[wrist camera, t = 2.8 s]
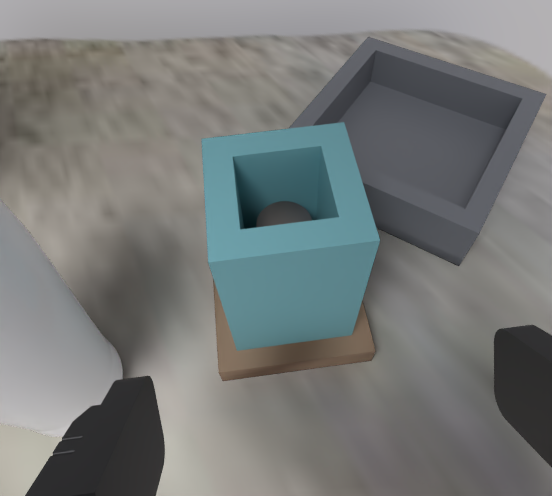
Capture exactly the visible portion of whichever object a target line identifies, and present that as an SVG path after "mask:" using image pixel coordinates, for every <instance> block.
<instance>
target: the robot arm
mask: <svg viewBox="0 0 552 496" xmlns="http://www.w3.org/2000/svg"><path fill="white" fill-rule="evenodd" d="M494 392H495V398H496V402H497V405H498V407H499V410H500V412H501V413H502V415H503V416H504V418H505V419H506V420H507V421H508V422H509V423H510V424H511V425H512V426H513V427H514V428H515V430H516V431H517V432H518V433H519V434H520V435H521V436H522V437H523V438H524V439H525V440H526V441H527V442H528V443H529V444H530V445H531V446H532V447H533V448H534V449H535V450H536V451H537V452H538V454H539V455H540V456H541V457H542V458H543V459H544V460H545V461H546V462H547V463H548V464H549V465H550V466H551V467H552V336H551V335H550V334H548V333H546V332H545V331H543V330H541V329H540V328H538V327H537V326H534V325H526V326H519V327H512V328H504V329H499V330H498V331H497V332H496V334H495V338H494ZM164 456H165V445H164V436H163V430H162V425H161V420H160V415H159V410H158V405H157V400H156V394H155V389H154V385H153V381H152V379H151V377H150V376H143V377H135V378H128V379H120V380H115V381H114V382H113V384H112V386H111V387H110V389H109V391H108V393H107V394H106V396H105V398H104V400H103V401H102V403H101V405H94V406H91V407H89V408H88V409H87V410H86V411H85V412H83V413H82V414H81V415H80V416H79V417H77V418H76V419H75V420H74V421H73V422H72V423H71V425H70V426H69V428H68V430H67V431H66V433H65V434H64V436H63V437H62V441H61V442H59V444H58V445H57V447H56V448H55V450H54V451H53V456H50V458H49V459H48V461H47V462H46V464H45V466H44V467H43V469H42V470H41V472H40V473H39V475H38V476H37V478H36V480H35V481H34V483H33V484H32V486H31V487H30V489H29V491H28V492H27V494H26V495H25V496H156V492H157V488H158V485H159V481H160V477H161V473H162V469H163V465H164Z"/></svg>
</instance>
